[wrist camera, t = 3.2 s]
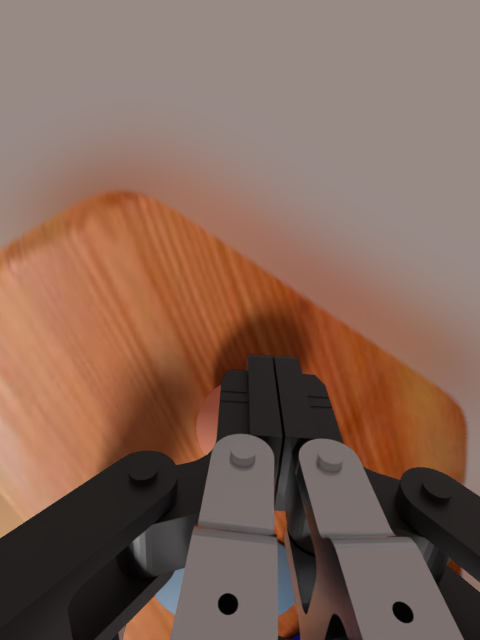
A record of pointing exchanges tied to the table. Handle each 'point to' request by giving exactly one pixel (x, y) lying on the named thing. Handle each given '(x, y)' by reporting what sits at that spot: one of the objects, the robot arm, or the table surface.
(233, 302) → the table surface
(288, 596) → the mark
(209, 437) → the ball
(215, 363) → the table surface
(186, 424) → the table surface
